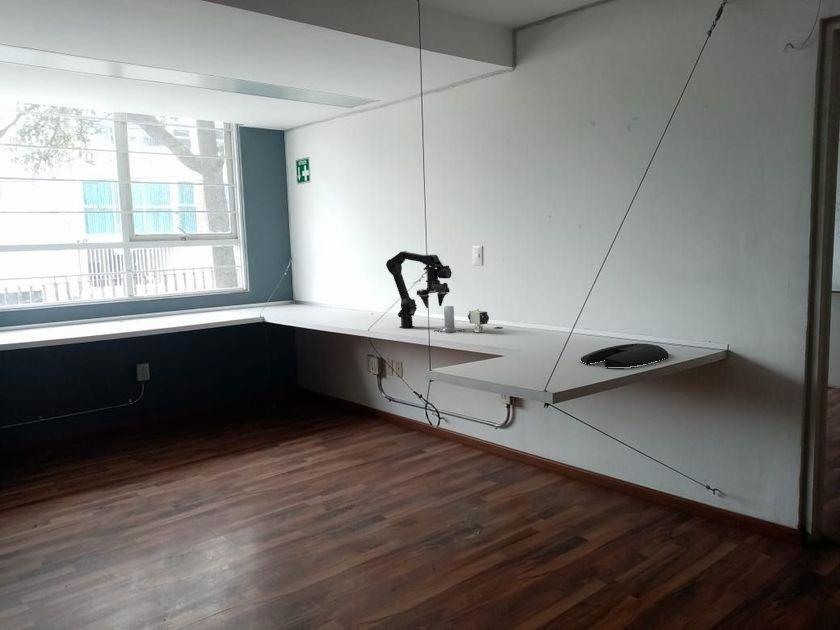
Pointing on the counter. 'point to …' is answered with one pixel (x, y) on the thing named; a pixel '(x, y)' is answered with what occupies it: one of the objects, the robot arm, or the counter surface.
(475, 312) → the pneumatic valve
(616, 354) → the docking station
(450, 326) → the grey cylinder
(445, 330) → the flange plate
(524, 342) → the counter surface
